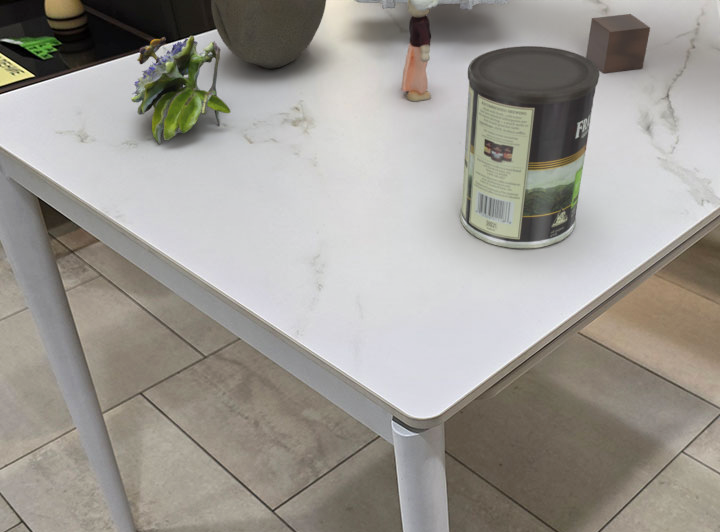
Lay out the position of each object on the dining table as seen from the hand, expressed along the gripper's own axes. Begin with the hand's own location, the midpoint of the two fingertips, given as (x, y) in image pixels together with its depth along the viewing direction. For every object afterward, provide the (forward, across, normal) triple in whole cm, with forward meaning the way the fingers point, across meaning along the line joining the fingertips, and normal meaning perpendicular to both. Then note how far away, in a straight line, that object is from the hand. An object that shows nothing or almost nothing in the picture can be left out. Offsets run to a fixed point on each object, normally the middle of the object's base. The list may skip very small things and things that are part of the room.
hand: (427, 2), depth 103 cm
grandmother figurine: (+11, 0, +7) cm, 13 cm away
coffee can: (+37, +11, +7) cm, 39 cm away
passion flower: (+20, -25, +7) cm, 33 cm away
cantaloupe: (+2, -19, +7) cm, 21 cm away
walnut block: (0, +23, +7) cm, 24 cm away
